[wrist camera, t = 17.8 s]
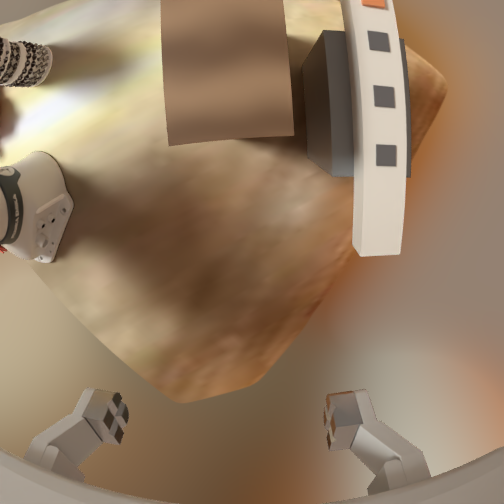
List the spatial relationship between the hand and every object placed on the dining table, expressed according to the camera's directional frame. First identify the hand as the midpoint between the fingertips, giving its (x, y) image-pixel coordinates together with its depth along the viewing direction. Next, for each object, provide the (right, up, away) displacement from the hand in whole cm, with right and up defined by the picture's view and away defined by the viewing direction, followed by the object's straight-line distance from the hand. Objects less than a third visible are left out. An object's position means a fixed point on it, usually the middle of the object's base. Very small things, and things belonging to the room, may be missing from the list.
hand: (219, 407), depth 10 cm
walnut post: (+1, +30, +28) cm, 42 cm away
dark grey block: (+13, +26, +30) cm, 42 cm away
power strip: (+12, +19, +13) cm, 26 cm away
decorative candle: (-39, +40, +27) cm, 62 cm away
